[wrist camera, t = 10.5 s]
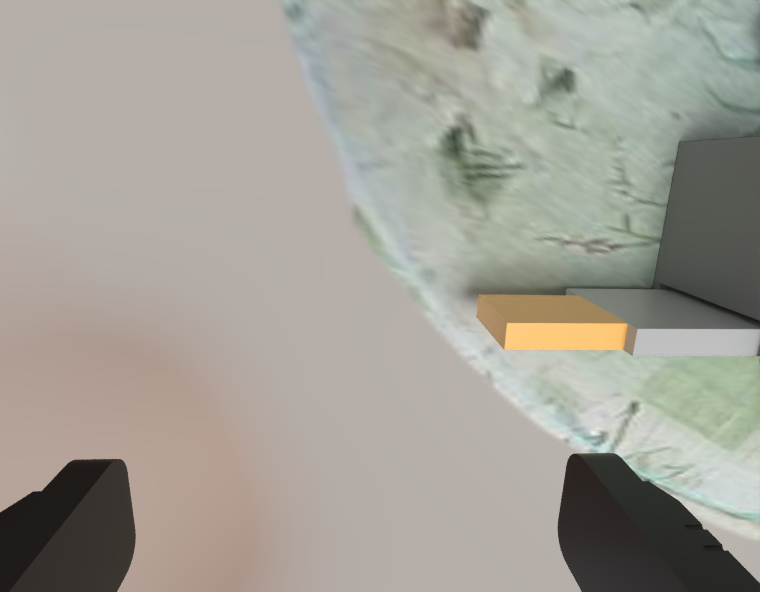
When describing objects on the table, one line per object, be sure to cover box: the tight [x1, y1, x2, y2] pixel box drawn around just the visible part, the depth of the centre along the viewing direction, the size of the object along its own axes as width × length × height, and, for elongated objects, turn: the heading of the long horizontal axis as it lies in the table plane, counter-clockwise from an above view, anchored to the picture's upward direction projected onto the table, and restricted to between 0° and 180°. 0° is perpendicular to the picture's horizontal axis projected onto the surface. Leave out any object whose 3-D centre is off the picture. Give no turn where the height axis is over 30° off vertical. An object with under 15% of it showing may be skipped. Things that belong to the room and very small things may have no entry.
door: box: [477, 288, 760, 356], centre depth 30 cm, size 2×17×9 cm, turn 89°
